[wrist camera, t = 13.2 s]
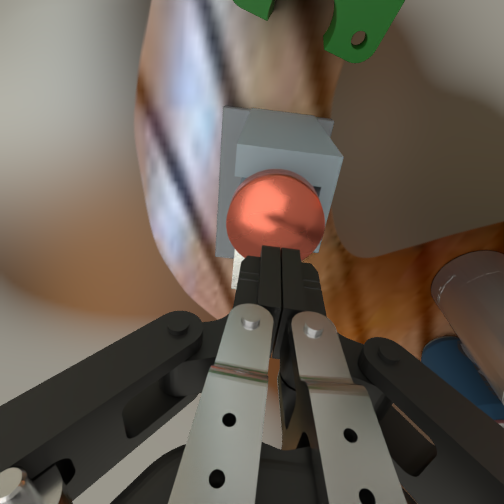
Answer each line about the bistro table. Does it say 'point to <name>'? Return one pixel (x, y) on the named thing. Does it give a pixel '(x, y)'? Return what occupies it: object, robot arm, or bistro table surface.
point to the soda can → (462, 374)
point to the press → (274, 156)
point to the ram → (275, 214)
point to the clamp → (345, 24)
